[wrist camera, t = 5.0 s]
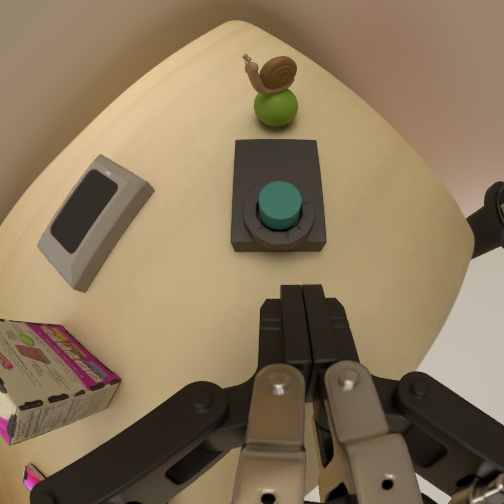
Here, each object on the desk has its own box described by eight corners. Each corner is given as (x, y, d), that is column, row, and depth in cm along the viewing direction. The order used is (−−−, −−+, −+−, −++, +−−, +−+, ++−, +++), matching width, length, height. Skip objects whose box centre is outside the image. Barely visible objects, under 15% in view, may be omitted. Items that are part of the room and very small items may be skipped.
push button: (299, 230, 25) (302, 219, 22) (259, 230, 25) (258, 219, 23) (297, 194, 26) (300, 180, 23) (259, 194, 26) (258, 180, 24)
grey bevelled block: (31, 243, 27) (96, 148, 30) (47, 251, 31) (108, 162, 34) (67, 287, 26) (142, 175, 29) (85, 292, 29) (154, 190, 32)
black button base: (320, 258, 29) (331, 244, 24) (234, 258, 29) (227, 244, 25) (312, 155, 32) (318, 129, 27) (238, 155, 33) (233, 129, 28)
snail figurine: (240, 117, 34) (231, 46, 23) (281, 100, 35) (283, 31, 23) (262, 144, 33) (258, 69, 21) (304, 125, 34) (314, 52, 22)
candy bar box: (48, 354, 27) (-52, 351, 11) (61, 323, 28) (-43, 307, 12) (108, 411, 25) (7, 449, 10) (124, 380, 26) (15, 406, 11)
